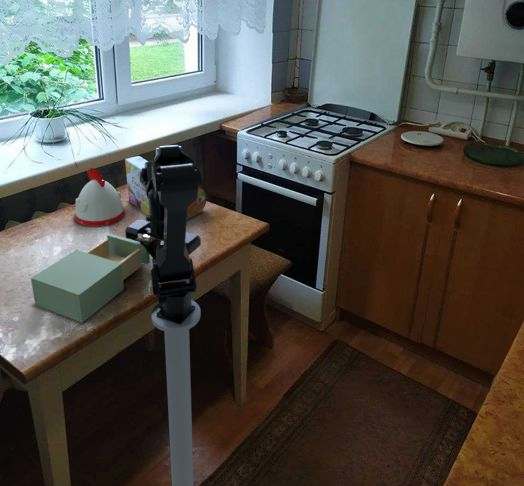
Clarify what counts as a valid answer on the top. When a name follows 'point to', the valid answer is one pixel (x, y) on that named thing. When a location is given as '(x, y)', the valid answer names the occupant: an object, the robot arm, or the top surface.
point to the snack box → (136, 183)
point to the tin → (197, 204)
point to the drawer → (122, 252)
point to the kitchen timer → (98, 202)
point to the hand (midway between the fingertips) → (164, 266)
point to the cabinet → (77, 285)
